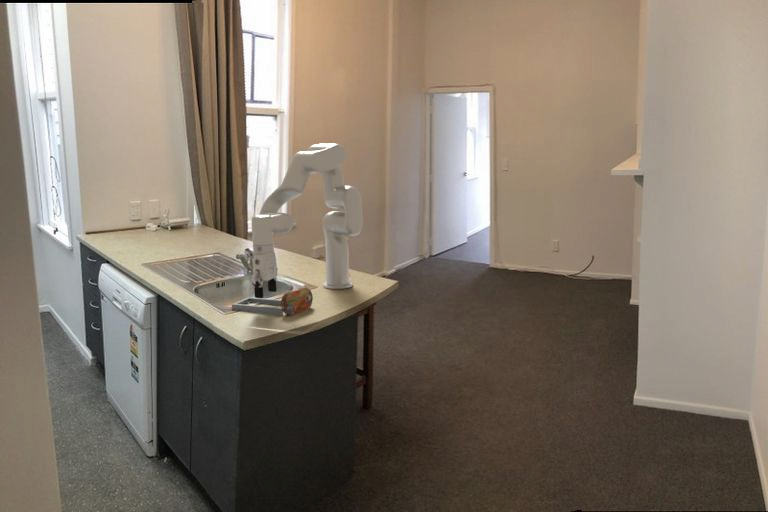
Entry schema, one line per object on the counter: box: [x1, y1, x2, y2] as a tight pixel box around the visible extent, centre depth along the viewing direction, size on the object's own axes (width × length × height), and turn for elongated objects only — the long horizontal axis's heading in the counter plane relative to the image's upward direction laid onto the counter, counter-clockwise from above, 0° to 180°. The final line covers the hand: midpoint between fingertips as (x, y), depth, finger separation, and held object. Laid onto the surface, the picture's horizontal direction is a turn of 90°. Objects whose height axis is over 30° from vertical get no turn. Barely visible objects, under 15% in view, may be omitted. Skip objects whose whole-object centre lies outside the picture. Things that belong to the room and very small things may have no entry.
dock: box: [231, 296, 284, 316], centre depth 216 cm, size 11×20×2 cm, turn 72°
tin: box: [280, 287, 314, 316], centre depth 212 cm, size 15×3×8 cm, turn 148°
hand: (265, 294), depth 216 cm, fingers open, 9 cm apart
